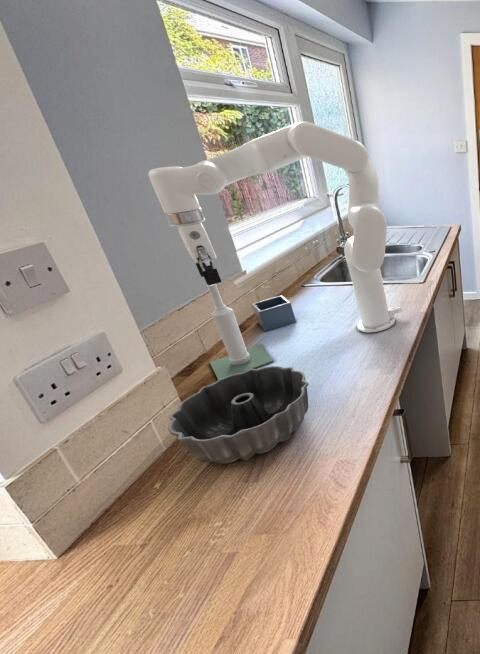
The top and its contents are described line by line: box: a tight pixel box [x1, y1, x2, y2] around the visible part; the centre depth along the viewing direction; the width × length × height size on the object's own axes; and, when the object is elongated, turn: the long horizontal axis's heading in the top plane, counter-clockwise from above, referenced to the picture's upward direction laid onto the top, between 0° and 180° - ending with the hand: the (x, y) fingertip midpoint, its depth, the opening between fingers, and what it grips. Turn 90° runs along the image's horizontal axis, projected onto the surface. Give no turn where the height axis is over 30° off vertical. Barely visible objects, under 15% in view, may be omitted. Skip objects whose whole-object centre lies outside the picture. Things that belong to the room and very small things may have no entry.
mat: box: [209, 344, 274, 381], centre depth 122 cm, size 14×14×1 cm
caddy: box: [251, 295, 297, 332], centre depth 145 cm, size 10×10×8 cm
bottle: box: [206, 283, 250, 366], centre depth 116 cm, size 5×5×25 cm
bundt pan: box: [167, 365, 310, 464], centre depth 91 cm, size 26×26×10 cm
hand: (211, 279), depth 111 cm, fingers open, 9 cm apart
